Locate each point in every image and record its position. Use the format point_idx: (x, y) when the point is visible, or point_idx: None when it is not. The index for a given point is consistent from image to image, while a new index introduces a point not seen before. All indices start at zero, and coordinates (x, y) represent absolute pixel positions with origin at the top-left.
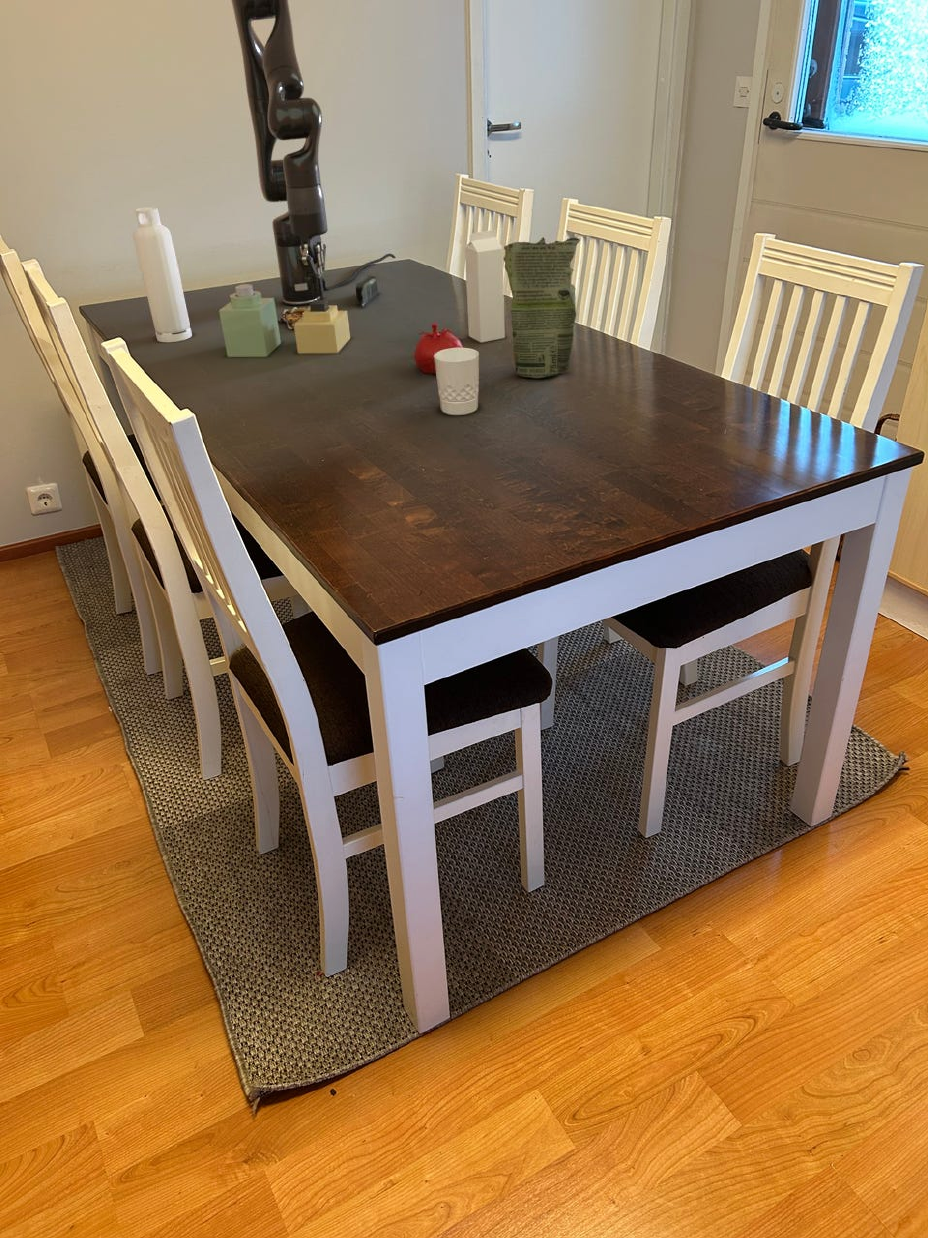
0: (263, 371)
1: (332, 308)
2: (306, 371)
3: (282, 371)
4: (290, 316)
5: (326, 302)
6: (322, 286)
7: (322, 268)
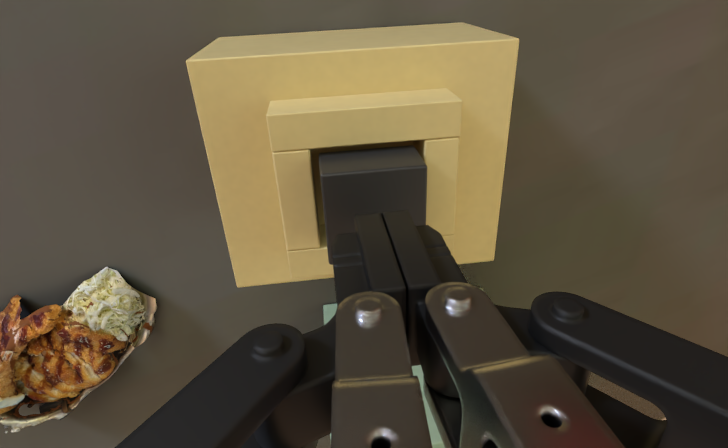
0: (638, 236)
1: (350, 118)
2: (685, 81)
3: (657, 174)
4: (76, 381)
5: (362, 168)
6: (372, 240)
7: (304, 350)
